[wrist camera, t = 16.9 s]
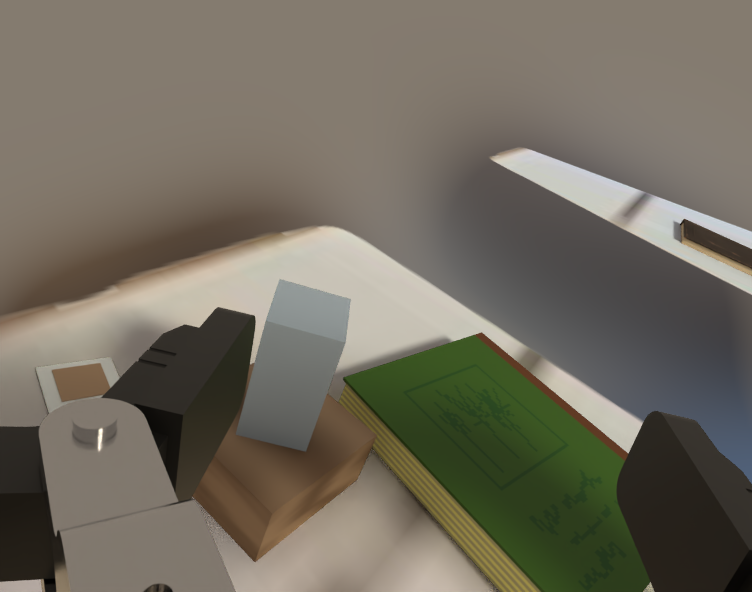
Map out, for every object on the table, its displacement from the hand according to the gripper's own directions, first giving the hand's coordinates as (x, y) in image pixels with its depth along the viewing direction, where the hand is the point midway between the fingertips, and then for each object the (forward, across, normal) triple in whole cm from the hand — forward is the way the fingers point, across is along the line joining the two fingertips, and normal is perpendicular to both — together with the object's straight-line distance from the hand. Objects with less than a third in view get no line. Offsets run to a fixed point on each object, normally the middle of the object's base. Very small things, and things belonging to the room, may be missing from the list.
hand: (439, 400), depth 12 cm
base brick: (+22, +7, +22) cm, 32 cm away
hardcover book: (+30, -12, +24) cm, 40 cm away
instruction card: (+23, +20, +20) cm, 36 cm away
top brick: (+22, +6, +17) cm, 29 cm away
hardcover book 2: (+118, -72, +20) cm, 140 cm away
